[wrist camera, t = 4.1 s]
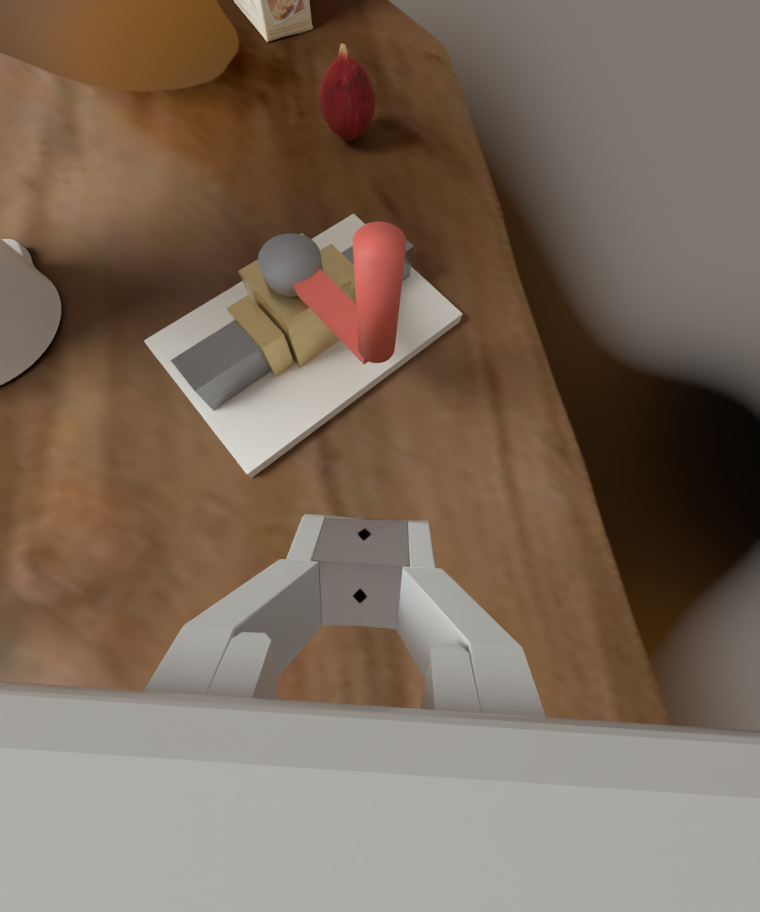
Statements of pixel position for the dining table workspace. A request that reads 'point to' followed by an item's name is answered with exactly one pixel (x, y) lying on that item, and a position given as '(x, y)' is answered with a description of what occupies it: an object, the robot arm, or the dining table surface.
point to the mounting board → (300, 389)
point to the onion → (347, 96)
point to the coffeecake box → (277, 16)
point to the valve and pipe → (266, 332)
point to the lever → (376, 287)
